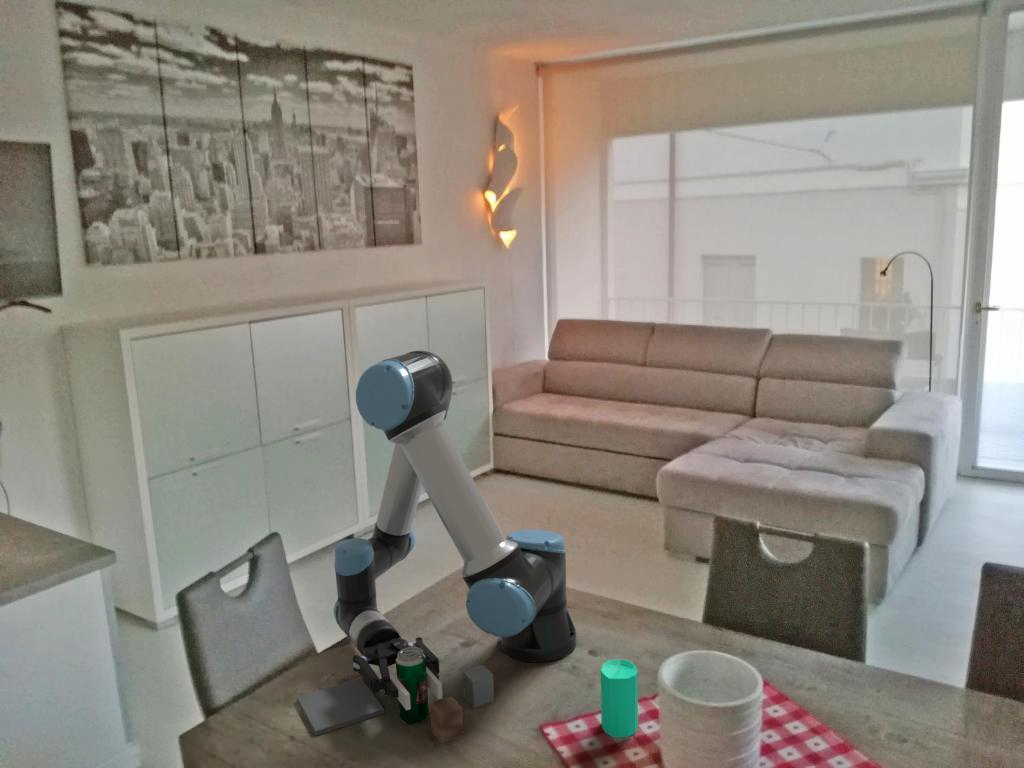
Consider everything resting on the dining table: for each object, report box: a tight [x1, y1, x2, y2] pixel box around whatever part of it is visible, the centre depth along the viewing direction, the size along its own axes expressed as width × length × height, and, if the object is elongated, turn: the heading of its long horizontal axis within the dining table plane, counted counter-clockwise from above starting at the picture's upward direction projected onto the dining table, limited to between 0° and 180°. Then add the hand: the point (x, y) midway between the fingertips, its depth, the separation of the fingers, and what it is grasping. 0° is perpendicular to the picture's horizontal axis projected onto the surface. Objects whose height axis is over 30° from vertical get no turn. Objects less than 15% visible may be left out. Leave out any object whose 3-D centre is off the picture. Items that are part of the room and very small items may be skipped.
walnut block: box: [429, 695, 464, 744], centre depth 136 cm, size 4×4×5 cm
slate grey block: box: [462, 664, 495, 709], centre depth 146 cm, size 4×4×5 cm
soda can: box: [395, 647, 430, 725], centre depth 140 cm, size 5×5×12 cm
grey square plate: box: [296, 676, 385, 736], centre depth 145 cm, size 12×12×1 cm
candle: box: [600, 659, 639, 738], centre depth 135 cm, size 6×6×12 cm
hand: (424, 696), depth 135 cm, fingers closed on soda can, 5 cm apart
